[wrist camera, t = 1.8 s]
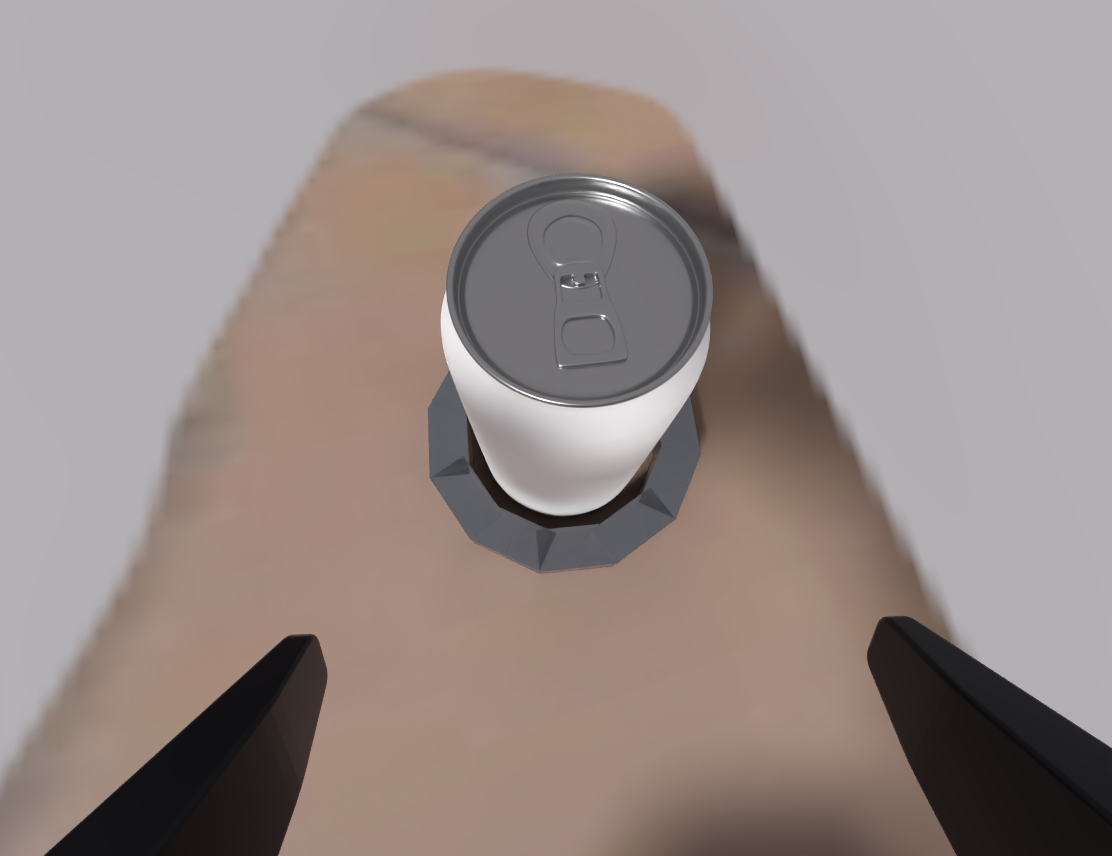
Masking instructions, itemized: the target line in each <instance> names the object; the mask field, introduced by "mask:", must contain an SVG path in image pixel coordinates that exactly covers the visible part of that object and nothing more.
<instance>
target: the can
mask: <svg viewBox="0 0 1112 856" xmlns="http://www.w3.org/2000/svg"><path fill="white" fill-rule="evenodd" d="M712 305H713V282H712V275H711V270H710V266H709V263H708V260H707V257H706V254H705V252H704V250H703V247H702V245H701V243H700V242H699V240H698V238H697V236H696V235H695V233H694V232H693V230H692V229H691V228H690V226H689V225H688V224H687V223H686V222H685V220H684V219H683V218H682V217H681V216H680V215H679V214H678V213H677V212H676V211H675V210H674V209H672V208H671V207H670V206H669V205H668V204H666V203H665V202H664V201H662V200H661V199H659V198H658V197H656V196H655V195H653V194H651V193H650V192H648V191H646V190H644V189H642V188H640V187H638V186H636V185H633V184H631V183H628V182H625V181H622V180H619V179H615V178H611V177H607V176H601V175H594V174H580V173H573V174H558V175H551V176H546V177H542V178H538V179H534V180H531V181H528V182H525V183H522V184H520V185H518V186H515V187H513V188H511V189H509V190H507V191H505V192H504V193H502V194H500V195H499V196H497V197H496V198H494V199H493V200H492V201H490V202H489V203H488V204H487V205H485V206H484V207H483V208H482V209H481V210H480V211H479V212H478V213H477V214H476V215H475V216H474V217H473V218H472V219H471V221H470V222H469V223H468V225H467V226H466V227H465V229H464V230H463V232H462V233H461V235H460V237H459V239H458V241H457V243H456V245H455V247H454V249H453V252H452V255H451V258H450V262H449V266H448V271H447V280H446V293H445V296H444V300H443V305H442V312H441V335H442V342H443V349H444V353H445V357H446V361H447V364H448V367H449V370H450V373H451V376H452V378H453V381H454V384H455V386H456V389H457V391H458V394H459V397H460V399H461V402H462V404H463V407H464V409H465V411H466V414H467V416H468V419H469V421H470V424H471V426H472V429H473V431H474V434H475V436H476V438H477V441H478V443H479V446H480V448H481V450H482V453H483V455H484V457H485V460H486V462H487V464H488V466H489V469H490V471H491V472H492V474H493V476H494V478H495V480H496V481H497V483H498V484H499V485H500V486H501V488H502V489H503V490H504V491H505V492H506V493H507V494H508V495H509V496H510V497H511V498H512V499H514V500H515V501H516V502H518V503H519V504H521V505H523V506H524V507H526V508H528V509H530V510H533V511H535V512H538V513H542V514H546V515H551V516H574V515H580V514H584V513H587V512H590V511H593V510H595V509H597V508H599V507H601V506H603V505H605V504H606V503H608V502H609V501H611V500H612V499H613V498H614V497H616V496H617V495H618V494H619V493H620V492H621V491H622V490H623V488H624V487H625V486H626V485H627V484H628V482H629V481H630V480H631V478H632V477H633V476H634V474H635V473H636V472H637V470H638V469H639V468H640V466H641V465H642V463H643V462H644V461H645V459H646V458H647V456H648V455H649V454H650V452H651V451H652V449H653V448H654V447H655V445H656V444H657V442H658V441H659V439H660V438H661V437H662V435H663V434H664V432H665V431H666V430H667V428H668V427H669V425H670V424H671V422H672V421H673V420H674V418H675V417H676V415H677V414H678V412H679V411H680V409H681V408H682V406H683V405H684V403H685V402H686V400H687V399H688V397H689V395H690V394H691V392H692V390H693V389H694V387H695V385H696V383H697V381H698V379H699V377H700V374H701V372H702V369H703V367H704V364H705V361H706V358H707V354H708V349H709V342H710V317H711V312H712Z"/></svg>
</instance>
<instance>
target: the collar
mask: <svg viewBox="0 0 1112 856" xmlns="http://www.w3.org/2000/svg"><path fill="white" fill-rule="evenodd" d="M428 429H429V464H430V479H431V480H432V482H433V483H434V485H435V486H436V488H437V489H438V491H439V492H440V494H441V495H442V497H443V499H444V500H445V502H446V503H447V505H448V506H449V508H450V509H451V511H452V512H453V514H454V515H455V517H456V518H457V520H458V521H459V523H460V524H461V526H462V527H463V529H464V530H465V532H466V533H467V535H468V536H469V538H470V539H471V540H472V541H473V542H474V543H476V544H478V545H480V546H482V547H484V548H486V549H489V550H491V551H493V552H495V553H497V554H499V555H501V556H503V557H506V558H508V559H510V560H512V561H514V562H516V563H518V564H520V565H523V566H525V567H527V568H529V569H531V570H533V571H535V572H537V573H539V574H541V573H551V572H561V571H571V570H581V569H591V568H601V567H611V566H613V565H615V564H617V563H618V562H619V561H621V560H622V559H623V558H625V557H626V556H627V555H629V554H630V553H631V552H633V551H634V550H635V549H637V548H638V547H639V546H641V545H642V544H643V543H645V542H646V541H647V540H649V539H650V538H651V537H652V536H654V535H655V534H656V533H658V532H659V531H660V530H662V529H663V528H664V527H666V526H667V525H668V524H670V523H671V522H672V521H674V520H675V519H676V517H677V514H678V511H679V509H680V506H681V504H682V501H683V498H684V496H685V493H686V490H687V488H688V485H689V483H690V480H691V477H692V475H693V472H694V470H695V467H696V464H697V462H698V459H699V457H700V454H701V452H700V447H699V441H698V436H697V430H696V425H695V420H694V414H693V409H692V403H691V398H690V395H689V397H688V399H687V400H686V402H685V403H684V405H683V406H682V408H681V409H680V411H679V412H678V414H677V415H676V417H675V418H674V420H673V421H672V422H671V424H670V425H669V427H668V428H667V430H666V431H665V432H664V434H663V435H662V437H661V438H660V439H659V441H658V442H657V444H656V445H655V447H654V448H653V454H654V457H653V460H652V462H651V465H650V467H649V470H648V472H647V474H646V477H645V479H644V482H643V484H642V487H641V489H640V492H639V494H638V496H637V497H636V498H635V499H634V500H632V501H631V502H629V503H628V504H627V505H625V506H624V507H623V508H621V509H620V510H618V511H617V512H616V513H614V514H613V515H612V516H610V517H609V518H608V519H606V520H605V521H603V522H602V523H601V524H593V525H583V526H573V527H562V528H552V529H546V528H543V527H541V526H539V525H537V524H535V523H533V522H530V521H528V520H526V519H524V518H522V517H520V516H517V515H515V514H513V513H511V512H509V511H507V510H504V509H502V508H500V507H498V506H497V504H496V503H495V501H494V500H493V498H492V497H491V496H490V494H489V493H488V491H487V490H486V488H485V487H484V485H483V484H482V482H481V481H480V480H479V478H478V477H477V475H476V474H475V472H474V469H473V450H472V432H471V424H470V421H469V419H468V416H467V414H466V411H465V409H464V407H463V404H462V402H461V399H460V397H459V394H458V391H457V389H456V386H455V384H454V381H453V378H452V376H451V373H450V370H449V372H448V374H447V375H446V377H445V379H444V381H443V383H442V384H441V386H440V388H439V390H438V391H437V393H436V395H435V397H434V399H433V400H432V402H431V404H430V406H429V408H428Z"/></svg>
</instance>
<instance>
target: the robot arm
mask: <svg viewBox="0 0 1112 856" xmlns="http://www.w3.org/2000/svg"><path fill="white" fill-rule="evenodd" d="M867 661H868V665H869V668H870V671H871V673H872V676H873V678H874V680H875V683H876V685H877V688H878V690H879V693H880V695H881V698H882V700H883V702H884V705H885V707H886V710H887V712H888V715H889V717H890V719H891V722H892V724H893V727H894V729H895V732H896V734H897V736H898V739H899V741H900V744H901V746H902V749H903V751H904V753H905V755H906V758H907V760H908V762H909V764H910V766H911V768H912V770H913V772H914V774H915V776H916V778H917V780H918V782H919V784H920V786H921V788H922V790H923V792H924V794H925V796H926V798H927V800H928V801H929V803H930V805H931V807H932V809H933V811H934V813H935V815H936V817H937V819H938V821H939V822H940V824H941V826H942V828H943V830H944V832H945V834H946V836H947V838H948V840H949V842H950V844H951V845H952V847H953V849H954V851H955V853H956V855H957V856H1112V748H1111V747H1109V746H1108V745H1106V744H1105V743H1103V742H1101V741H1100V740H1098V739H1097V738H1095V737H1094V736H1092V735H1091V734H1089V733H1088V732H1086V731H1085V730H1083V729H1081V728H1080V727H1079V726H1077V725H1075V724H1074V723H1072V722H1071V721H1069V720H1068V719H1066V718H1065V717H1063V716H1062V715H1060V714H1058V713H1057V712H1056V711H1054V710H1052V709H1051V708H1049V707H1048V706H1046V705H1045V704H1043V703H1042V702H1040V701H1039V700H1037V699H1036V698H1034V697H1033V696H1031V695H1029V694H1028V693H1026V692H1025V691H1023V690H1022V689H1020V688H1019V687H1017V686H1015V685H1014V684H1013V683H1011V682H1009V681H1008V680H1006V679H1005V678H1003V677H1001V676H1000V675H999V674H997V673H996V672H994V671H993V670H991V669H989V668H988V667H986V666H985V665H983V664H982V663H980V662H979V661H977V660H976V659H974V658H973V657H971V656H970V655H968V654H967V653H965V652H963V651H962V650H960V649H959V648H957V647H956V646H954V645H953V644H951V643H950V642H948V641H947V640H945V639H943V638H942V637H940V636H939V635H937V634H936V633H934V632H933V631H931V630H930V629H928V628H927V627H925V626H924V625H922V624H920V623H919V622H917V621H916V620H914V619H912V618H910V617H907V616H890V617H883V618H882V619H880V620H879V622H878V624H877V626H876V629H875V632H874V634H873V637H872V640H871V643H870V645H869V648H868V651H867ZM326 684H327V667H326V664H325V660H324V657H323V654H322V650H321V647H320V643H319V640H318V638H317V637H316V636H315V635H313V634H298V635H289V636H287V637H286V638H284V639H283V640H282V641H281V642H280V643H278V644H277V645H276V646H275V647H274V648H273V649H272V650H271V651H270V652H268V653H267V654H266V655H265V656H264V657H263V658H262V659H261V660H260V661H259V662H257V663H256V664H255V665H254V666H253V667H252V668H251V669H250V670H249V671H247V672H246V673H245V674H244V675H243V676H242V677H241V678H240V679H239V680H237V681H236V682H235V683H234V684H233V685H232V686H231V687H230V688H229V689H228V690H226V691H225V692H224V693H223V694H222V695H221V696H220V697H219V698H218V699H216V700H215V701H214V702H213V703H212V704H211V705H210V706H209V707H208V708H207V709H205V710H204V711H203V712H202V713H201V714H200V715H199V716H198V717H197V718H195V719H194V720H193V721H192V722H191V723H190V724H189V725H188V726H187V727H186V728H184V729H183V730H182V731H181V732H180V733H179V734H178V735H177V736H176V737H174V738H173V739H172V740H171V741H170V742H169V743H168V744H167V745H166V746H164V747H163V748H162V749H161V750H160V751H159V752H158V753H157V754H156V755H155V756H153V757H152V758H151V759H150V760H149V761H148V762H147V763H146V764H145V765H143V766H142V767H141V768H140V769H139V770H138V771H137V772H136V773H135V774H134V775H132V776H131V777H130V778H129V779H128V780H127V781H126V782H125V783H124V784H122V785H121V786H120V787H119V788H118V789H117V790H116V791H115V792H114V793H112V794H111V795H110V796H109V797H108V798H107V799H106V800H105V801H104V802H103V803H101V804H100V805H99V806H98V807H97V808H96V809H95V810H94V811H93V812H91V813H90V814H89V815H88V816H87V817H86V818H85V819H84V820H83V821H82V822H80V823H79V824H78V825H77V826H76V827H75V828H74V829H73V830H72V831H70V832H69V833H68V834H67V835H66V836H65V837H64V838H63V839H62V840H61V841H59V842H58V843H57V844H56V845H55V846H54V847H53V848H52V849H51V850H49V851H48V852H47V853H46V854H45V855H44V856H278V855H279V852H280V849H281V846H282V843H283V840H284V837H285V835H286V832H287V829H288V826H289V823H290V820H291V817H292V814H293V812H294V809H295V806H296V803H297V800H298V796H299V793H300V790H301V787H302V783H303V779H304V776H305V772H306V768H307V764H308V759H309V755H310V751H311V747H312V743H313V739H314V735H315V730H316V726H317V722H318V718H319V714H320V710H321V705H322V701H323V697H324V693H325V689H326Z"/></svg>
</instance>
